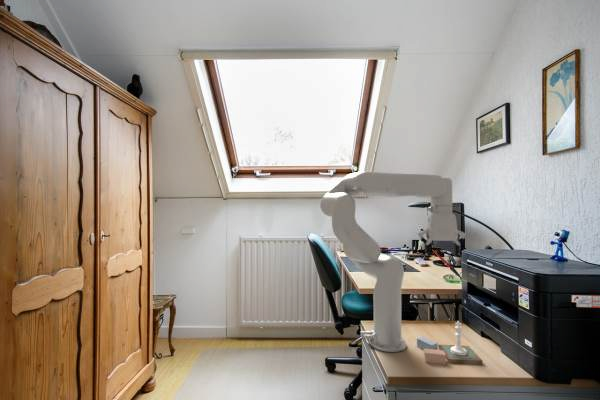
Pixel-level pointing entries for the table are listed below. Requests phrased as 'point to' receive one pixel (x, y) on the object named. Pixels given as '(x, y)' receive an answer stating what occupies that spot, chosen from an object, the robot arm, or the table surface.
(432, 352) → the terracotta brick
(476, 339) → the table surface
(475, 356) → the green-topped square tray
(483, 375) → the table surface
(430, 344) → the slate-blue brick
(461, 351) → the chess piece
